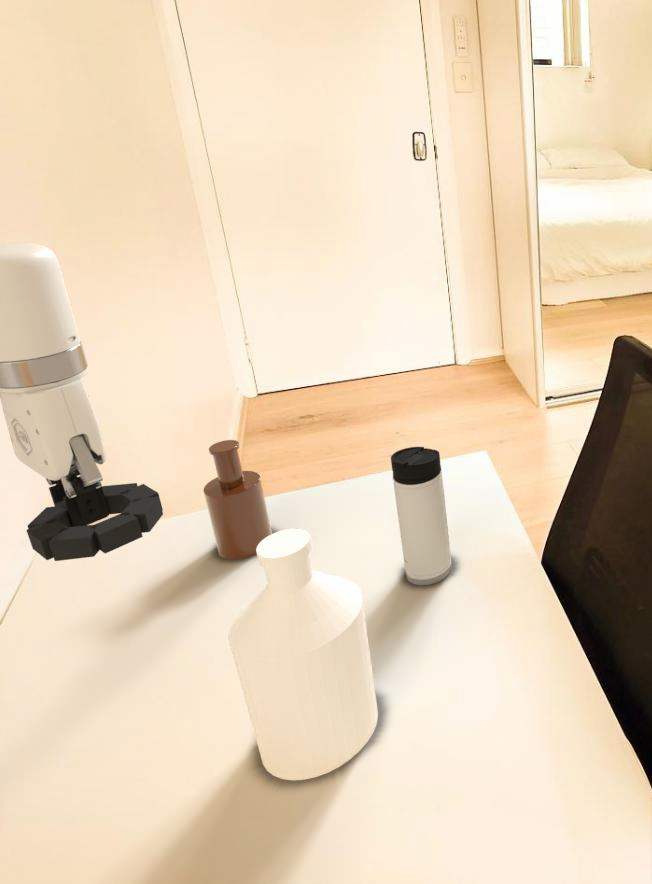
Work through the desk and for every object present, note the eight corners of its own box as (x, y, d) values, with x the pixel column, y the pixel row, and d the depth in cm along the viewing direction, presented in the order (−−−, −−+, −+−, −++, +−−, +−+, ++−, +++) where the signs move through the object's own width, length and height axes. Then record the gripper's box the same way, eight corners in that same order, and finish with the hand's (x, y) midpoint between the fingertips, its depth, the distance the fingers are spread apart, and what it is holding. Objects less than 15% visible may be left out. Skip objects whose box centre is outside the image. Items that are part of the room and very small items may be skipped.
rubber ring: (62, 573, 68) (55, 553, 67) (18, 537, 73) (11, 518, 72) (179, 520, 77) (174, 502, 76) (133, 492, 82) (128, 474, 81)
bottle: (248, 800, 68) (194, 597, 60) (268, 705, 78) (225, 520, 70) (379, 762, 72) (347, 567, 64) (382, 676, 83) (354, 498, 74)
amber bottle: (235, 566, 100) (211, 463, 94) (208, 550, 103) (183, 449, 97) (283, 540, 106) (263, 442, 100) (256, 526, 109) (235, 429, 103)
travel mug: (394, 581, 98) (377, 459, 91) (425, 553, 104) (411, 437, 97) (431, 592, 96) (416, 468, 89) (460, 563, 102) (449, 445, 95)
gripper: (-43, 359, 71) (10, 510, 77) (23, 397, 64) (76, 561, 70) (49, 338, 77) (91, 480, 83) (119, 371, 70) (160, 524, 76)
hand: (84, 515), depth 77 cm, fingers closed on rubber ring, 2 cm apart
